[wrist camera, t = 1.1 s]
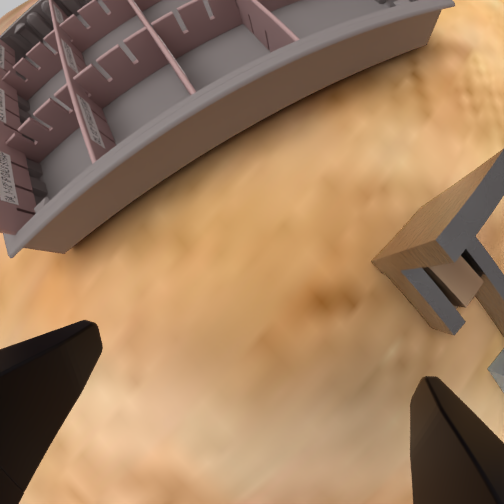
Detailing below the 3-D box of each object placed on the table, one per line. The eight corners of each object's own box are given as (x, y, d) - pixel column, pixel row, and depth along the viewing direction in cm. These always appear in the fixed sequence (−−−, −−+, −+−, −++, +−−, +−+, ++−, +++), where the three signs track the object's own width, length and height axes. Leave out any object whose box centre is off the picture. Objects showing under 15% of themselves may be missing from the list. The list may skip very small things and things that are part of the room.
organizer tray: (432, 56, 23) (464, -12, 13) (70, 266, 27) (-12, 257, 17) (264, -69, 28) (254, -118, 18) (24, 69, 32) (-18, 38, 22)
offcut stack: (442, 310, 21) (466, 314, 17) (402, 262, 22) (421, 258, 18) (462, 286, 21) (487, 286, 17) (423, 239, 22) (444, 231, 18)
